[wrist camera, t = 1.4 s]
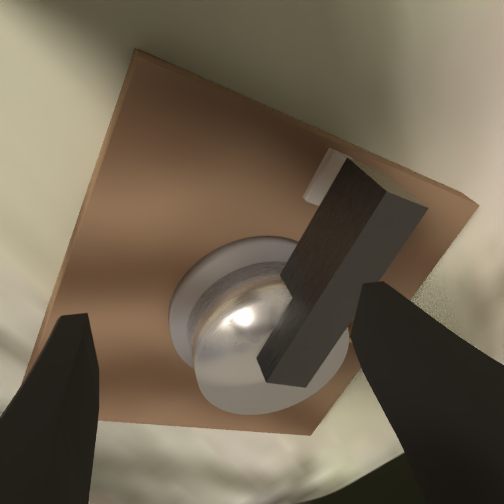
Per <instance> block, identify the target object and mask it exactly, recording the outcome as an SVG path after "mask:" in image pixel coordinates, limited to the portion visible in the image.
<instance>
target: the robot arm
mask: <svg viewBox="0 0 504 504" xmlns="http://www.w3.org/2000/svg"><path fill="white" fill-rule="evenodd" d="M350 338H351V341H352V344H353V347H354V349H355V352H356V355H357V358H358V360H359V363H360V366H361V368H362V370H363V372H364V374H365V376H366V378H367V380H368V382H369V384H370V386H371V388H372V390H373V392H374V394H375V396H376V398H377V399H378V401H379V403H380V405H381V407H382V409H383V411H384V413H385V415H386V416H387V418H388V420H389V422H390V424H391V426H392V428H393V430H394V431H395V433H396V435H397V437H398V439H399V441H400V443H401V445H402V447H403V449H404V451H405V454H406V455H407V458H408V460H409V463H410V465H411V468H412V470H413V473H414V475H415V478H416V480H417V482H418V485H419V487H420V490H421V492H422V495H423V498H424V500H425V503H426V504H504V365H502V364H501V363H499V362H497V361H496V360H494V359H492V358H491V357H489V356H488V355H486V354H484V353H483V352H481V351H480V350H478V349H477V348H475V347H474V346H472V345H471V344H469V343H468V342H466V341H465V340H463V339H462V338H460V337H459V336H457V335H456V334H455V333H453V332H452V331H450V330H449V329H447V328H446V327H445V326H443V325H442V324H441V323H439V322H438V321H436V320H435V319H434V318H432V317H431V316H430V315H428V314H427V313H426V312H424V311H423V310H422V309H420V308H419V307H418V306H416V305H415V304H414V303H412V302H411V301H410V300H408V299H407V298H406V297H404V296H403V295H402V294H401V293H399V292H398V291H396V290H395V289H394V288H392V287H391V286H390V285H388V284H387V283H385V282H384V281H380V282H371V283H363V285H362V289H361V293H360V297H359V301H358V305H357V310H356V314H355V318H354V322H353V326H352V330H351V334H350ZM98 415H99V365H98V360H97V355H96V350H95V346H94V341H93V336H92V331H91V326H90V321H89V317H88V313H80V314H71V315H62V316H60V317H59V318H58V319H57V321H56V323H55V325H54V328H53V330H52V332H51V334H50V336H49V338H48V340H47V342H46V343H45V345H44V347H43V349H42V351H41V353H40V354H39V356H38V358H37V360H36V362H35V363H34V365H33V367H32V368H31V370H30V372H29V373H28V375H27V377H26V378H25V380H24V382H23V383H22V385H21V387H20V388H19V390H18V391H17V393H16V395H15V396H14V398H13V399H12V400H11V402H10V403H9V405H8V406H7V408H6V409H5V411H4V412H3V414H2V415H1V417H0V504H88V501H89V491H90V483H91V474H92V466H93V458H94V449H95V441H96V433H97V424H98Z"/></svg>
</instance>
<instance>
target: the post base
mask: <svg viewBox="0 0 504 504" xmlns="http://www.w3.org/2000/svg"><path fill="white" fill-rule="evenodd" d="M347 157H348V158H351V159H353V160H355V161H358V162H360V163H362V164H365V165H367V166H369V167H372V168H374V169H377V170H379V171H381V172H384V173H386V174H387V175H388V176H390V177H391V178H392V179H393V180H395V181H396V182H397V183H398V184H399V185H401V186H402V187H403V188H404V189H406V190H407V191H408V192H409V193H411V194H412V195H413V196H414V197H416V198H417V199H418V200H419V201H421V202H422V203H423V204H424V205H425V206H427V207H428V208H429V209H428V210H427V212H426V213H425V215H424V216H423V217H422V219H421V220H420V222H419V223H418V225H417V226H416V228H415V229H414V231H413V232H412V234H411V235H410V236H409V238H408V239H407V241H406V242H405V244H404V245H403V247H402V248H401V250H400V251H399V253H398V254H397V255H396V257H395V258H394V260H393V261H392V263H391V264H390V266H389V267H388V269H387V270H386V272H385V273H384V274H383V276H382V277H381V279H380V280H379V282H380V281H384V282H385V283H387V284H388V285H390V286H391V287H392V288H394V289H395V290H396V291H398V292H399V293H401V294H402V295H403V296H404V297H406V298H407V299H408V300H410V299H411V298H412V297H413V295H414V294H415V293H416V291H417V290H418V288H419V287H420V286H421V284H422V283H423V282H424V280H425V279H426V278H427V276H428V275H429V273H430V272H431V271H432V269H433V268H434V267H435V265H436V264H437V263H438V261H439V260H440V258H441V257H442V256H443V254H444V253H445V252H446V250H447V249H448V248H449V246H450V245H451V243H452V242H453V241H454V239H455V238H456V237H457V235H458V234H459V233H460V231H461V230H462V228H463V227H464V226H465V224H466V223H467V222H468V220H469V219H470V218H471V216H472V215H473V213H474V212H475V211H476V209H477V208H478V207H479V205H478V204H477V203H475V202H474V201H473V200H471V199H470V198H468V197H467V196H465V195H464V194H463V193H461V192H459V191H457V190H454V189H452V188H450V187H448V186H445V185H443V184H441V183H439V182H436V181H434V180H432V179H430V178H427V177H425V176H423V175H420V174H418V173H416V172H414V171H411V170H409V169H407V168H405V167H402V166H400V165H398V164H396V163H393V162H391V161H389V160H387V159H384V158H382V157H380V156H378V155H375V154H373V153H371V152H369V151H366V150H364V149H362V148H360V147H357V146H355V145H353V144H350V143H348V142H346V141H344V140H341V139H339V138H337V137H335V136H332V135H330V134H328V133H326V132H323V131H321V130H319V129H317V128H314V127H312V126H310V125H308V124H305V123H303V122H301V121H299V120H296V119H294V118H292V117H290V116H287V115H285V114H283V113H281V112H278V111H276V110H274V109H271V108H269V107H267V106H265V105H262V104H260V103H258V102H256V101H253V100H251V99H249V98H247V97H244V96H242V95H240V94H238V93H235V92H233V91H231V90H229V89H226V88H224V87H222V86H220V85H217V84H215V83H213V82H211V81H208V80H206V79H204V78H201V77H199V76H197V75H195V74H192V73H190V72H188V71H186V70H183V69H181V68H179V67H177V66H174V65H172V64H170V63H168V62H165V61H163V60H161V59H159V58H156V57H154V56H152V55H150V54H147V53H145V52H143V51H141V50H138V49H136V48H135V51H134V54H133V57H132V60H131V63H130V65H129V68H128V71H127V74H126V77H125V80H124V83H123V86H122V89H121V92H120V95H119V98H118V101H117V104H116V107H115V110H114V113H113V116H112V119H111V122H110V125H109V128H108V131H107V133H106V136H105V139H104V142H103V145H102V148H101V151H100V154H99V157H98V160H97V163H96V166H95V169H94V172H93V175H92V178H91V181H90V184H89V187H88V190H87V193H86V196H85V198H84V201H83V204H82V207H81V210H80V213H79V216H78V219H77V222H76V225H75V228H74V231H73V234H72V237H71V240H70V243H69V246H68V249H67V252H66V255H65V258H64V261H63V264H62V266H61V269H60V272H59V275H58V278H57V281H56V284H55V287H54V290H53V293H52V296H51V299H50V302H49V305H48V308H47V311H46V314H45V317H44V320H43V323H42V326H41V329H40V332H39V334H38V337H37V340H36V343H35V346H34V349H33V352H32V355H31V358H30V361H29V364H28V367H27V370H26V373H25V376H24V379H23V382H24V380H25V378H26V377H27V375H28V373H29V372H30V370H31V368H32V367H33V365H34V363H35V362H36V360H37V358H38V356H39V354H40V353H41V351H42V349H43V347H44V345H45V343H46V342H47V340H48V338H49V336H50V334H51V332H52V330H53V328H54V325H55V323H56V321H57V319H58V318H59V317H60V316H62V315H71V314H80V313H88V317H89V321H90V326H91V331H92V336H93V341H94V346H95V350H96V355H97V360H98V365H99V415H98V420H99V421H113V422H127V423H141V424H155V425H169V426H183V427H197V428H211V429H225V430H239V431H253V432H266V433H280V434H294V435H308V436H311V434H312V433H313V432H314V430H315V429H316V428H317V426H318V425H319V424H320V422H321V421H322V419H323V418H324V417H325V415H326V414H327V413H328V411H329V410H330V409H331V407H332V406H333V404H334V403H335V402H336V400H337V399H338V398H339V396H340V395H341V394H342V392H343V391H344V389H345V388H346V387H347V385H348V384H349V383H350V381H351V380H352V379H353V377H354V376H355V374H356V373H357V372H358V370H359V369H360V368H361V366H360V363H359V360H358V358H357V355H356V352H355V349H354V347H353V344H352V341H351V338H350V334H351V330H352V326H353V322H354V318H355V317H354V318H353V320H352V321H351V323H350V324H349V326H348V331H349V346H348V351H347V354H346V357H345V359H344V361H343V363H342V365H341V366H340V368H339V369H338V371H337V372H336V373H335V375H334V376H333V377H332V378H331V379H330V380H329V381H328V383H327V384H325V385H324V386H323V387H322V388H321V389H320V390H318V391H317V392H316V393H314V394H313V395H311V396H310V397H308V398H307V399H305V400H303V401H301V402H299V403H297V404H295V405H293V406H290V407H288V408H285V409H282V410H279V411H275V412H271V413H266V414H259V415H241V414H234V413H230V412H226V411H224V410H221V409H219V408H217V407H216V406H214V405H212V404H211V403H210V402H209V401H208V400H207V399H206V398H205V397H204V396H203V394H202V392H201V390H200V388H199V385H198V382H197V378H196V374H195V369H194V365H193V361H192V357H191V353H190V349H189V344H188V340H187V323H188V319H189V316H190V313H191V311H192V309H193V307H194V305H195V304H196V302H197V300H198V299H199V298H200V297H201V295H202V294H203V293H204V292H205V291H206V290H207V289H208V288H209V287H210V286H211V285H212V284H214V283H215V282H216V281H217V280H219V279H220V278H222V277H224V276H225V275H227V274H229V273H231V272H233V271H235V270H237V269H240V268H242V267H245V266H248V265H252V264H256V263H263V262H285V263H287V261H288V259H289V258H290V256H291V254H292V252H293V251H294V249H295V247H296V246H297V244H298V242H299V240H300V239H301V237H302V235H303V233H304V232H305V230H306V228H307V226H308V225H309V223H310V221H311V219H312V218H313V216H314V214H315V212H316V211H317V209H318V207H319V205H320V204H321V202H322V200H323V198H324V197H325V195H326V193H327V192H328V190H329V188H330V186H331V185H332V183H333V181H334V179H335V178H336V176H337V174H338V172H339V171H340V169H341V167H342V165H343V164H344V162H345V160H346V158H347ZM23 382H22V383H23Z"/></svg>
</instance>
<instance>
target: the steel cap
mask: <svg viewBox="0 0 504 504" xmlns="http://www.w3.org/2000/svg"><path fill="white" fill-rule="evenodd" d="M428 209H429V208H428V207H427V206H425V205H424V204H423V203H422V202H421V201H419V200H418V199H417V198H416V197H414V196H413V195H412V194H411V193H409V192H408V191H407V190H406V189H404V188H403V187H402V186H401V185H399V184H398V183H397V182H396V181H395V180H393V179H392V178H391V177H390V176H388V175H387V174H386V173H384V172H381V171H379V170H377V169H374V168H372V167H369V166H367V165H365V164H362V163H360V162H358V161H355V160H353V159H351V158H348V157H347V158H346V160H345V162H344V164H343V165H342V167H341V169H340V171H339V172H338V174H337V176H336V178H335V179H334V181H333V183H332V185H331V186H330V188H329V190H328V192H327V193H326V195H325V197H324V198H323V200H322V202H321V204H320V205H319V207H318V209H317V211H316V212H315V214H314V216H313V218H312V219H311V221H310V223H309V225H308V226H307V228H306V230H305V232H304V233H303V235H302V237H301V239H300V240H299V242H298V244H297V246H296V247H295V249H294V251H293V252H292V254H291V256H290V258H289V259H288V261H287V263H285V262H263V263H256V264H252V265H248V266H245V267H242V268H240V269H237V270H235V271H233V272H231V273H229V274H227V275H225V276H224V277H222V278H220V279H219V280H217V281H216V282H215V283H214V284H212V285H211V286H210V287H209V288H208V289H207V290H206V291H205V292H204V293H203V294H202V295H201V297H200V298H199V299H198V300H197V302H196V304H195V305H194V307H193V309H192V311H191V313H190V316H189V319H188V323H187V340H188V344H189V349H190V353H191V357H192V361H193V365H194V369H195V374H196V378H197V382H198V385H199V388H200V390H201V392H202V394H203V396H204V397H205V398H206V399H207V400H208V401H209V402H210V403H211V404H212V405H214V406H216V407H217V408H219V409H221V410H224V411H226V412H230V413H234V414H241V415H259V414H266V413H271V412H275V411H279V410H282V409H285V408H288V407H290V406H293V405H295V404H297V403H299V402H301V401H303V400H305V399H307V398H308V397H310V396H311V395H313V394H314V393H316V392H317V391H318V390H320V389H321V388H322V387H323V386H324V385H325V384H327V383H328V381H329V380H330V379H331V378H332V377H333V376H334V375H335V373H336V372H337V371H338V369H339V368H340V366H341V365H342V363H343V361H344V359H345V357H346V354H347V351H348V346H349V331H348V326H349V324H350V323H351V321H352V320H353V318H354V317H355V314H356V310H357V305H358V301H359V297H360V293H361V289H362V285H363V283H371V282H379V280H380V279H381V277H382V276H383V274H384V273H385V272H386V270H387V269H388V267H389V266H390V264H391V263H392V261H393V260H394V258H395V257H396V255H397V254H398V253H399V251H400V250H401V248H402V247H403V245H404V244H405V242H406V241H407V239H408V238H409V236H410V235H411V234H412V232H413V231H414V229H415V228H416V226H417V225H418V223H419V222H420V220H421V219H422V217H423V216H424V215H425V213H426V212H427V210H428Z"/></svg>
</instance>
